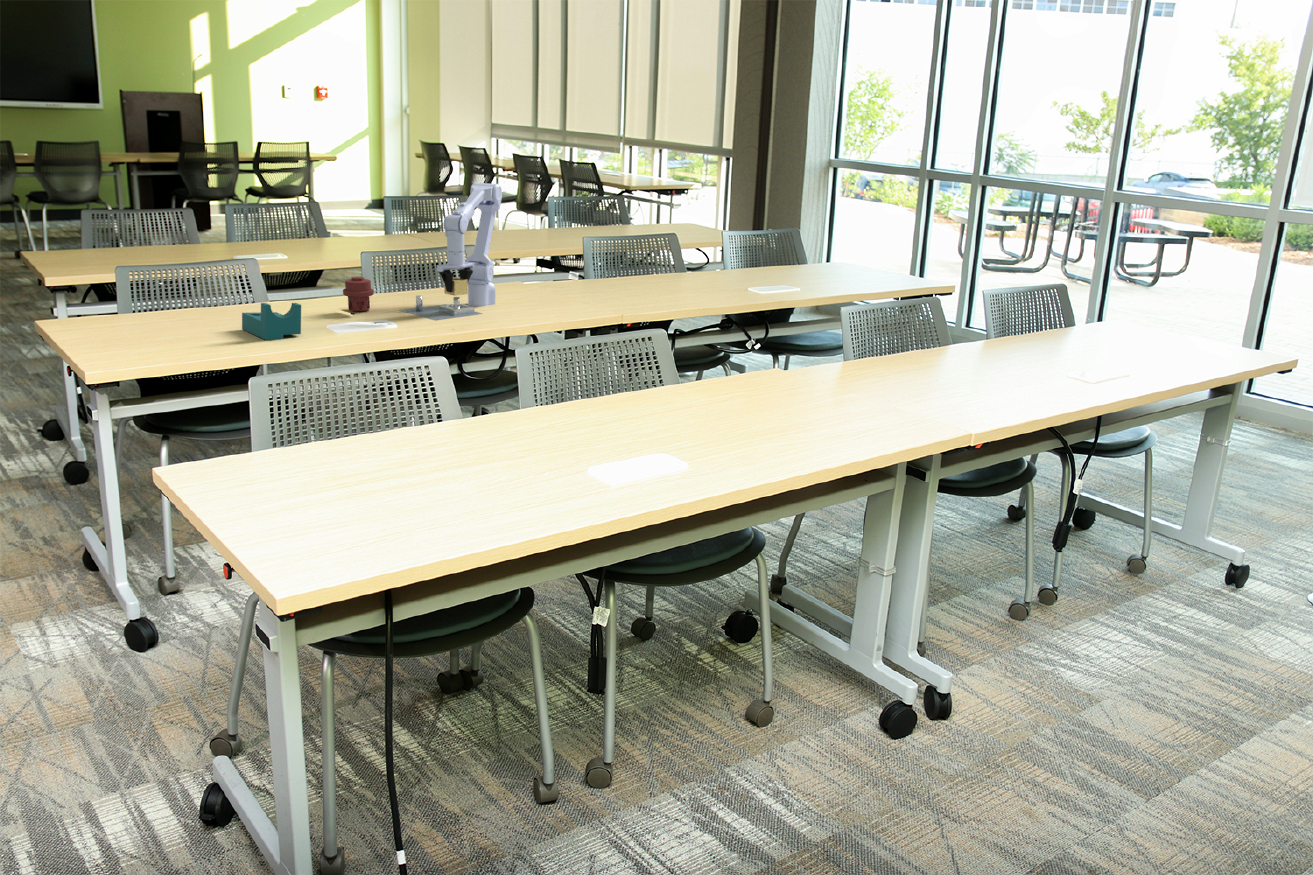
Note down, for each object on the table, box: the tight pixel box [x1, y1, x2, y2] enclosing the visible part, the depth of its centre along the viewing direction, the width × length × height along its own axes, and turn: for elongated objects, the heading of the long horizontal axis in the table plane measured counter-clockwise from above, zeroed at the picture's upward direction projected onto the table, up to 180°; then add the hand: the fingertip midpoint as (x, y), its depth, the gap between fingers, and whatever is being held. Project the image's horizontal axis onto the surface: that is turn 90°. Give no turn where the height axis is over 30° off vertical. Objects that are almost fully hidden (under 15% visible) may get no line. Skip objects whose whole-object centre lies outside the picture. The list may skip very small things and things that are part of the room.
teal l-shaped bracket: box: [241, 302, 302, 341], centre depth 309 cm, size 18×11×10 cm, turn 42°
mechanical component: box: [342, 276, 375, 316], centre depth 343 cm, size 12×10×10 cm
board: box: [398, 303, 484, 321], centre depth 349 cm, size 20×21×1 cm
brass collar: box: [443, 277, 468, 297], centre depth 347 cm, size 6×6×5 cm
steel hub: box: [439, 296, 476, 316], centre depth 348 cm, size 9×9×5 cm
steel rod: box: [415, 295, 424, 312], centre depth 348 cm, size 2×2×5 cm
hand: (456, 291), depth 347 cm, fingers closed on brass collar, 6 cm apart
